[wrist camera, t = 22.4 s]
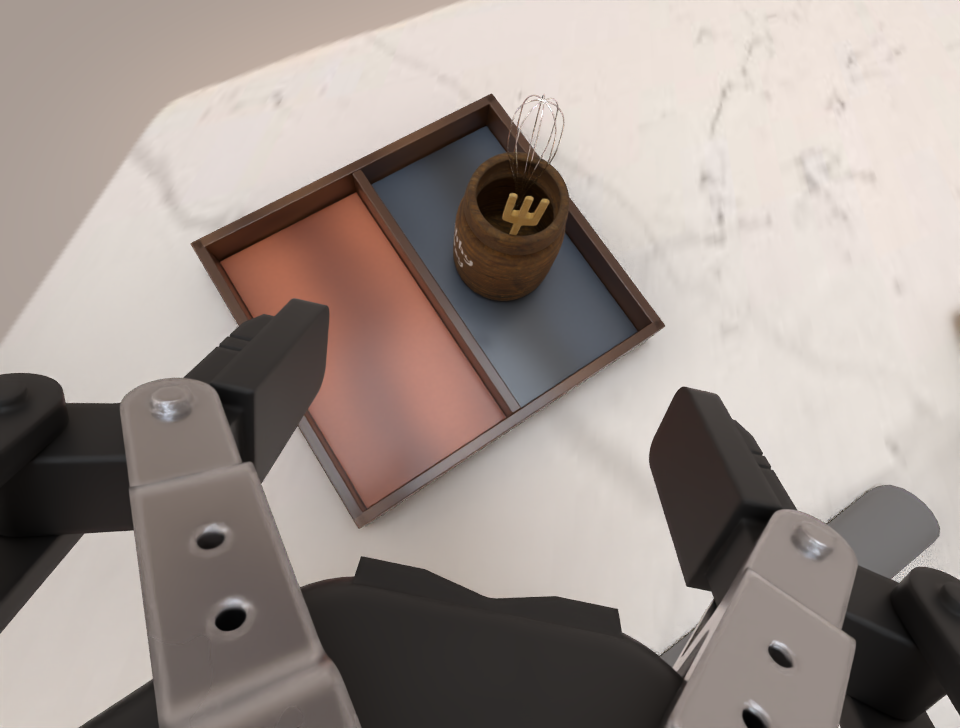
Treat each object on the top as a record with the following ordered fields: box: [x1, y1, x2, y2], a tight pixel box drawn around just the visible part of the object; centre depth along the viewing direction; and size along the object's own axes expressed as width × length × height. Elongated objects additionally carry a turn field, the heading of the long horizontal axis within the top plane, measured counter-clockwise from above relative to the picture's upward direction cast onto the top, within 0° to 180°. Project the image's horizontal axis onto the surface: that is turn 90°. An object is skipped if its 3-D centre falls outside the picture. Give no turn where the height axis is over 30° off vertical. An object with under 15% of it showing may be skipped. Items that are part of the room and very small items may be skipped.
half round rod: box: [660, 485, 940, 668], centre depth 29 cm, size 4×20×2 cm, turn 123°
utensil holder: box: [453, 94, 569, 301], centre depth 26 cm, size 6×6×12 cm
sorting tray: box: [191, 94, 665, 529], centre depth 31 cm, size 20×18×3 cm
